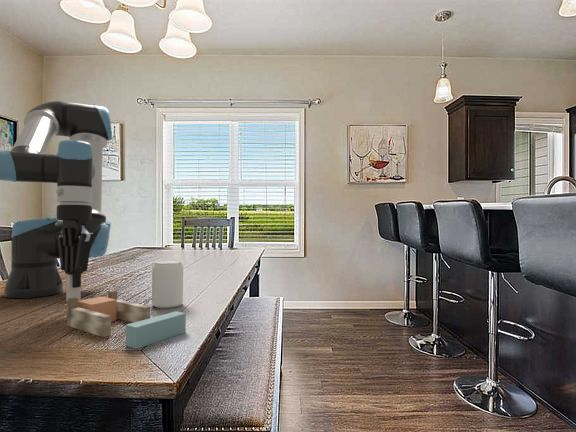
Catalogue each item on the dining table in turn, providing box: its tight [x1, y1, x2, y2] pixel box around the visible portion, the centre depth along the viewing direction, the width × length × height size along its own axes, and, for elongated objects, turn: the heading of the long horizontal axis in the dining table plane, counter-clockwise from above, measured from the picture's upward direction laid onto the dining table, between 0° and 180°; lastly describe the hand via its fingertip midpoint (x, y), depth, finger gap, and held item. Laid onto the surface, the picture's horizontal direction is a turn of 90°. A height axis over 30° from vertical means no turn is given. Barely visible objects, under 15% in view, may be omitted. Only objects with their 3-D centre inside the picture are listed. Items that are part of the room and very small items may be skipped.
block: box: [78, 296, 117, 323], centre depth 86 cm, size 6×6×5 cm
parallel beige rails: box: [66, 289, 151, 338], centre depth 83 cm, size 14×11×6 cm
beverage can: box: [151, 259, 184, 309], centre depth 101 cm, size 8×8×12 cm
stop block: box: [125, 310, 187, 350], centre depth 74 cm, size 3×12×4 cm, turn 148°
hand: (73, 300), depth 91 cm, fingers closed
